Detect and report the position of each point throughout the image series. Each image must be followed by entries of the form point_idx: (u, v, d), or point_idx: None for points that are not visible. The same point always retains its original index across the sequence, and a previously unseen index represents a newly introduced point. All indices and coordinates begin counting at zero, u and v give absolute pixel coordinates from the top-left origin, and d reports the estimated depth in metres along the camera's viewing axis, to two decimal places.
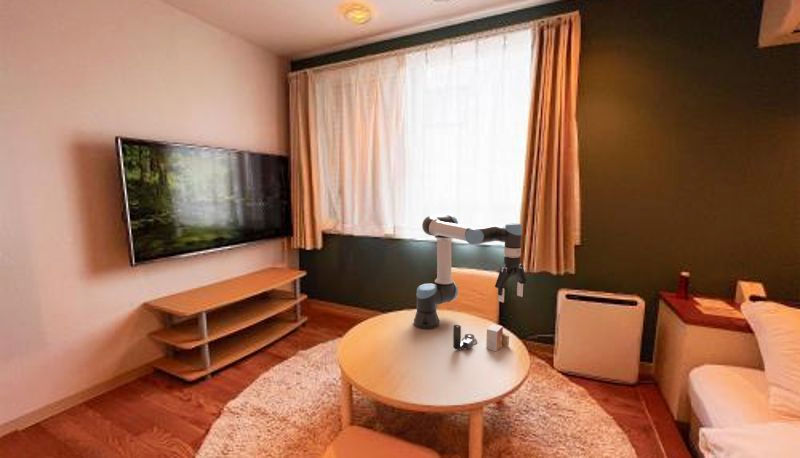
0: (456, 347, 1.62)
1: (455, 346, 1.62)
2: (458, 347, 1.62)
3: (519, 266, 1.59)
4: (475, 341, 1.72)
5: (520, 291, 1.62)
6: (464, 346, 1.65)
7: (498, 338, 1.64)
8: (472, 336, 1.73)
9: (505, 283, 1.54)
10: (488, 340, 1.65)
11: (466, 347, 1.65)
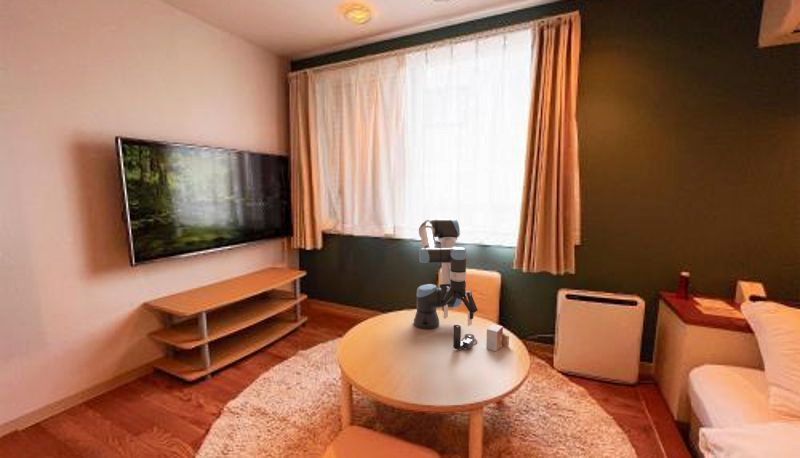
0: (456, 347, 1.62)
1: (455, 346, 1.62)
2: (458, 347, 1.62)
3: (466, 293, 1.56)
4: (475, 341, 1.72)
5: None
6: (464, 346, 1.65)
7: (498, 338, 1.64)
8: (472, 336, 1.73)
9: (446, 301, 1.63)
10: (488, 340, 1.65)
11: (466, 347, 1.65)
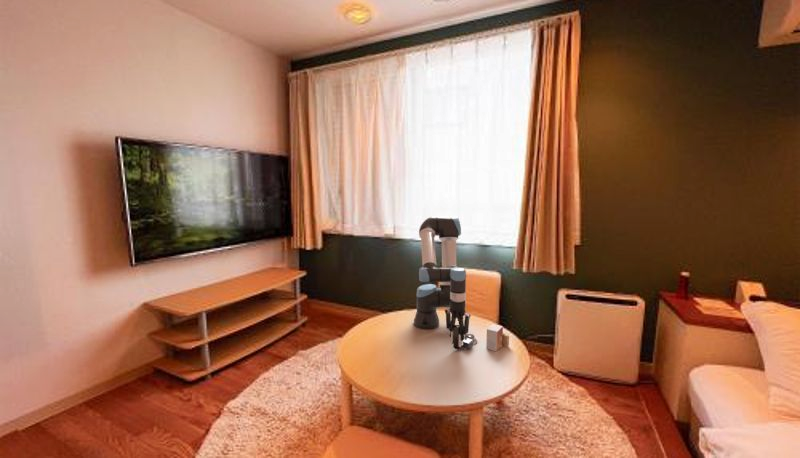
0: (456, 347, 1.62)
1: (455, 346, 1.62)
2: (458, 347, 1.62)
3: (465, 315, 1.58)
4: (475, 341, 1.72)
5: None
6: (464, 346, 1.65)
7: (498, 338, 1.64)
8: (472, 336, 1.73)
9: (452, 325, 1.63)
10: (488, 340, 1.65)
11: (466, 347, 1.65)
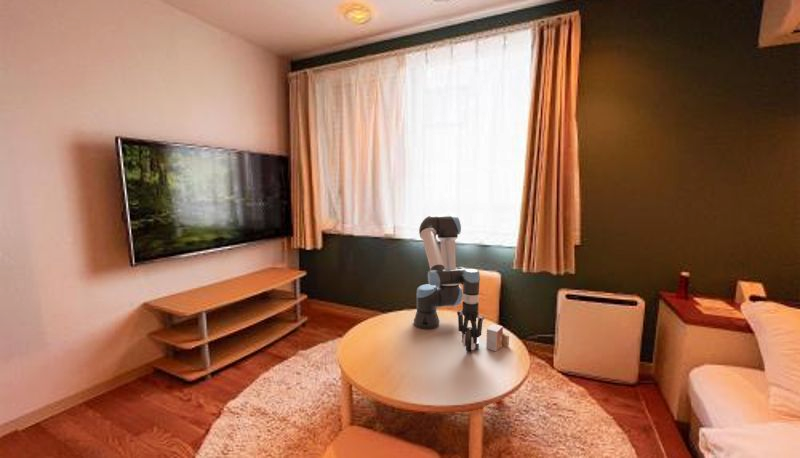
0: (471, 350, 1.59)
1: (470, 350, 1.59)
2: None
3: (478, 317, 1.55)
4: None
5: None
6: None
7: (498, 338, 1.64)
8: None
9: (464, 327, 1.60)
10: (488, 340, 1.65)
11: (476, 347, 1.64)
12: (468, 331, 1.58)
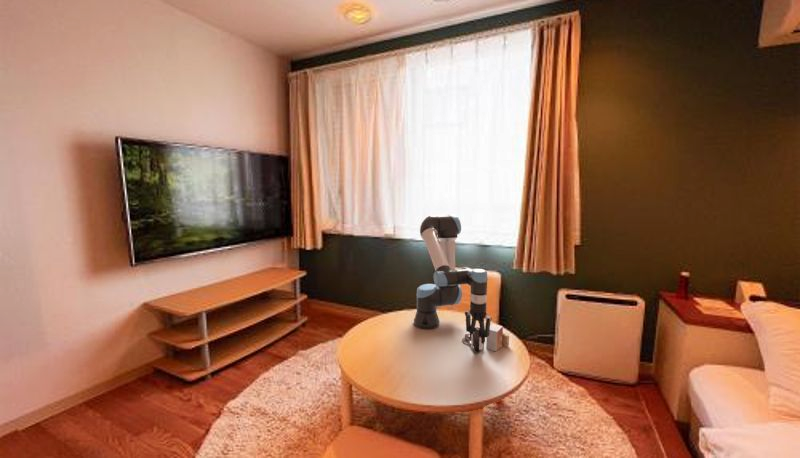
0: (479, 350, 1.59)
1: (479, 350, 1.59)
2: None
3: (486, 318, 1.55)
4: None
5: None
6: None
7: (498, 338, 1.64)
8: None
9: (472, 328, 1.60)
10: (488, 340, 1.65)
11: None
12: (477, 331, 1.58)
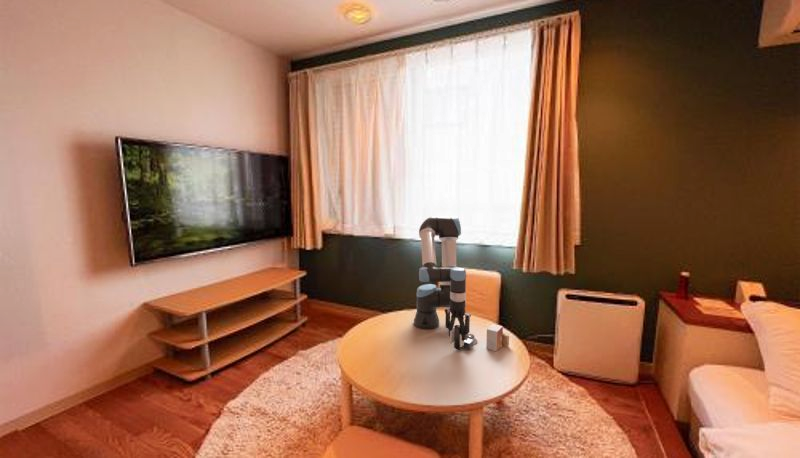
0: (457, 347, 1.62)
1: (456, 347, 1.62)
2: (459, 347, 1.62)
3: (465, 315, 1.58)
4: (475, 341, 1.72)
5: None
6: (465, 346, 1.65)
7: (498, 338, 1.64)
8: (472, 336, 1.73)
9: (451, 325, 1.63)
10: (488, 340, 1.65)
11: (467, 347, 1.64)
12: (455, 328, 1.61)
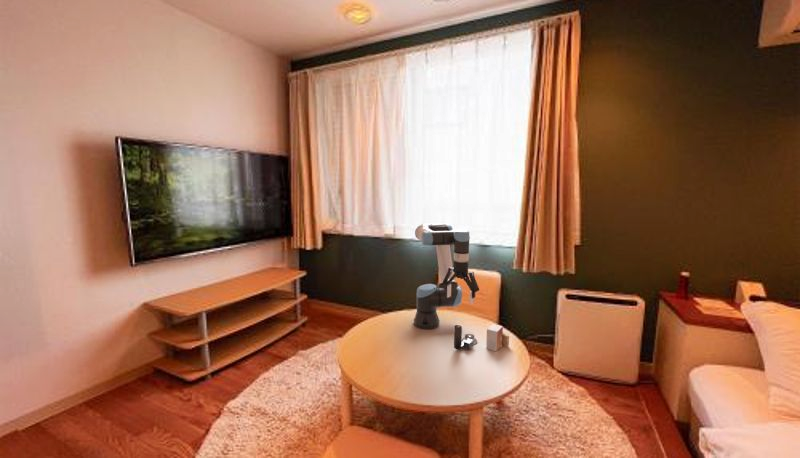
0: (457, 347, 1.62)
1: (456, 347, 1.62)
2: (459, 347, 1.62)
3: (469, 273, 1.64)
4: (475, 341, 1.72)
5: None
6: (465, 346, 1.65)
7: (498, 338, 1.64)
8: (472, 336, 1.73)
9: (450, 281, 1.71)
10: (488, 340, 1.65)
11: (467, 347, 1.64)
12: (455, 328, 1.61)
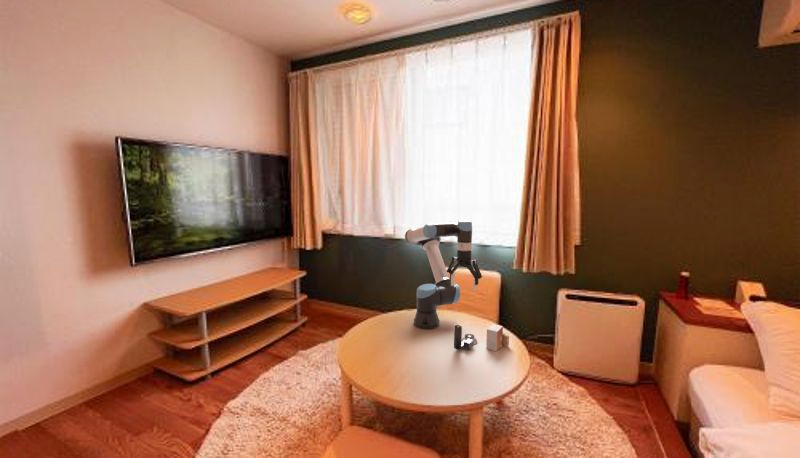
0: (457, 347, 1.62)
1: (456, 347, 1.62)
2: (459, 347, 1.62)
3: (472, 261, 1.73)
4: (475, 341, 1.72)
5: None
6: (465, 346, 1.65)
7: (498, 338, 1.64)
8: (472, 336, 1.73)
9: (453, 270, 1.80)
10: (488, 340, 1.65)
11: (467, 347, 1.64)
12: (455, 328, 1.61)
